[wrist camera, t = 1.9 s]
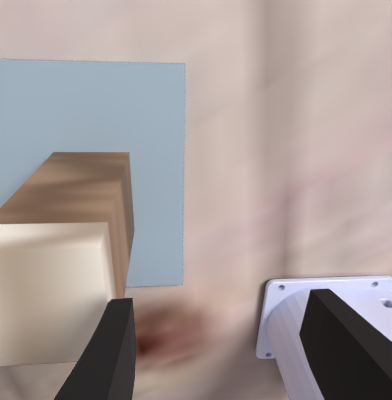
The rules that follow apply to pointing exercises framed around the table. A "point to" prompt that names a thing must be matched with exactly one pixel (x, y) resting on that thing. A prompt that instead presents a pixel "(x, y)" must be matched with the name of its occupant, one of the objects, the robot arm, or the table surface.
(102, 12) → the table surface
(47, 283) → the walnut block
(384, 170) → the table surface
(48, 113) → the light blue mat
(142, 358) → the table surface
